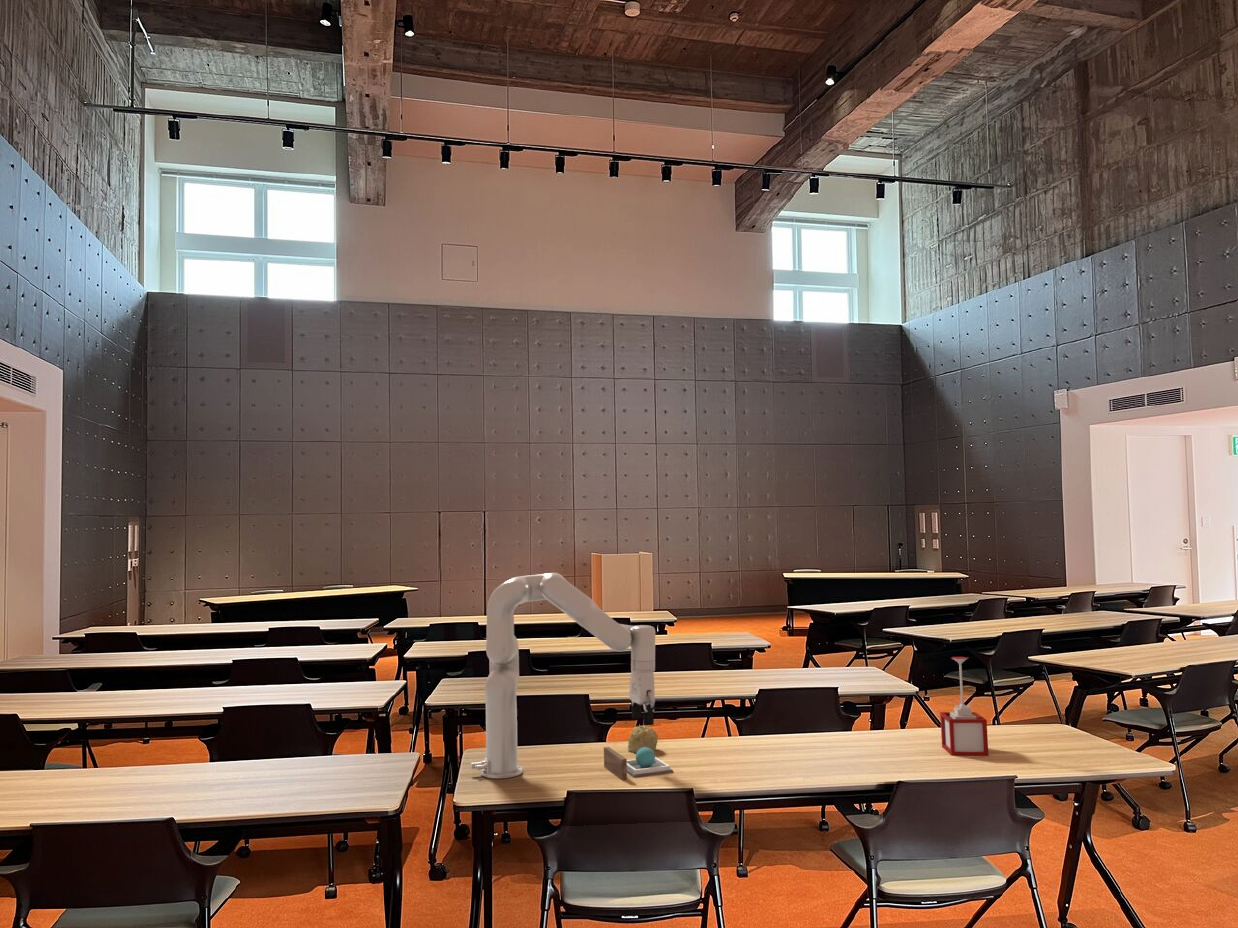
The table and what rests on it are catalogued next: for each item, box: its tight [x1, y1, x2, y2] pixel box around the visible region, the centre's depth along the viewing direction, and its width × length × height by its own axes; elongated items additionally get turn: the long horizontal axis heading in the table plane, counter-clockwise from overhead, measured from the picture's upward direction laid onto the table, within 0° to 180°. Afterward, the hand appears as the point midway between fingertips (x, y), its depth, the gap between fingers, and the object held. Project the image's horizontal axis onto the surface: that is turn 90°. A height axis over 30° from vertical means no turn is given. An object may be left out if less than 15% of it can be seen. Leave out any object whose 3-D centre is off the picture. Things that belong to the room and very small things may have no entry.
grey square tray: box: [627, 756, 674, 778], centre depth 262 cm, size 13×13×2 cm
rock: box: [627, 725, 659, 754], centre depth 285 cm, size 10×11×10 cm
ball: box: [635, 747, 656, 768], centre depth 262 cm, size 6×6×6 cm
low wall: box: [603, 746, 628, 781], centre depth 258 cm, size 2×16×6 cm, turn 20°
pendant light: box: [939, 656, 990, 757], centre depth 277 cm, size 11×11×30 cm
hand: (642, 721), depth 263 cm, fingers open, 9 cm apart
